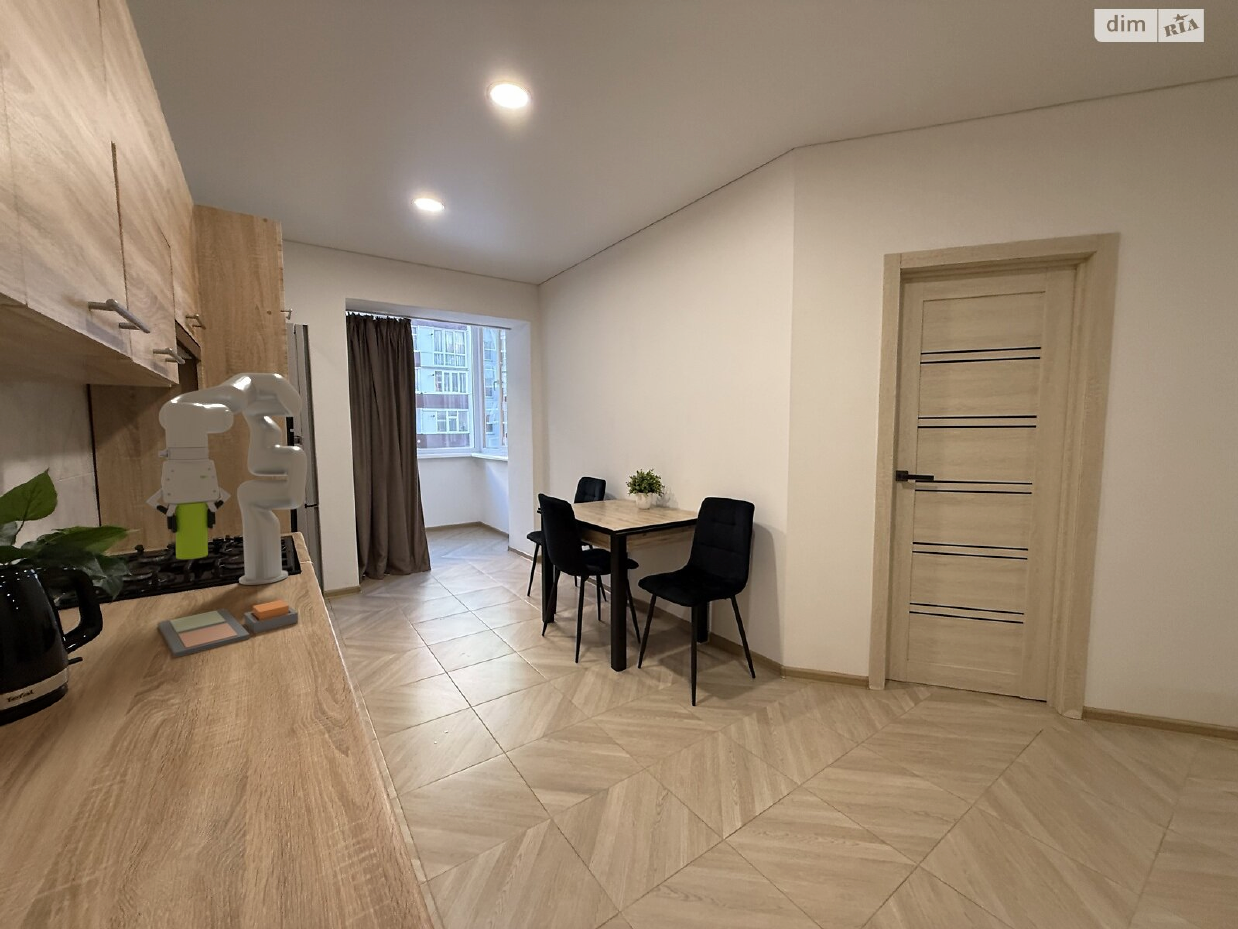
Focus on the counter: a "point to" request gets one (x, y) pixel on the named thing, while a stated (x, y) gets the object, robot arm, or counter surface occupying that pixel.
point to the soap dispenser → (191, 530)
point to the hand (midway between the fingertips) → (192, 529)
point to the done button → (270, 609)
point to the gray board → (202, 632)
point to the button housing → (270, 621)
